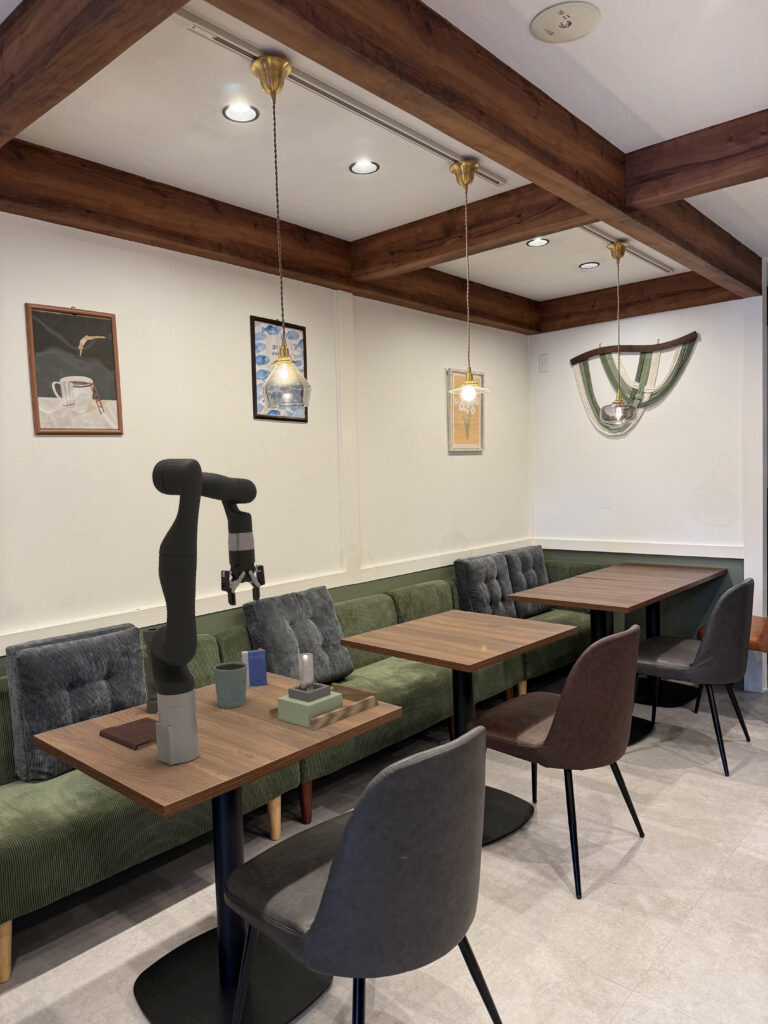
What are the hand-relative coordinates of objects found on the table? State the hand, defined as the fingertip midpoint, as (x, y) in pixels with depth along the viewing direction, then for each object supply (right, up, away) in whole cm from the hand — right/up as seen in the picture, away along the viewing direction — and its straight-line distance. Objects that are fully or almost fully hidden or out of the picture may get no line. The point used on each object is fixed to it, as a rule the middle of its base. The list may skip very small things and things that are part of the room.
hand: (244, 602), depth 214 cm
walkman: (-2, -32, +32) cm, 45 cm away
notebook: (-26, -36, -12) cm, 46 cm away
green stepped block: (+20, -31, -8) cm, 38 cm away
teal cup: (-6, -33, +13) cm, 36 cm away
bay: (+24, -32, -3) cm, 40 cm away
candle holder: (-29, -34, +10) cm, 46 cm away
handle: (+19, -25, -8) cm, 33 cm away
